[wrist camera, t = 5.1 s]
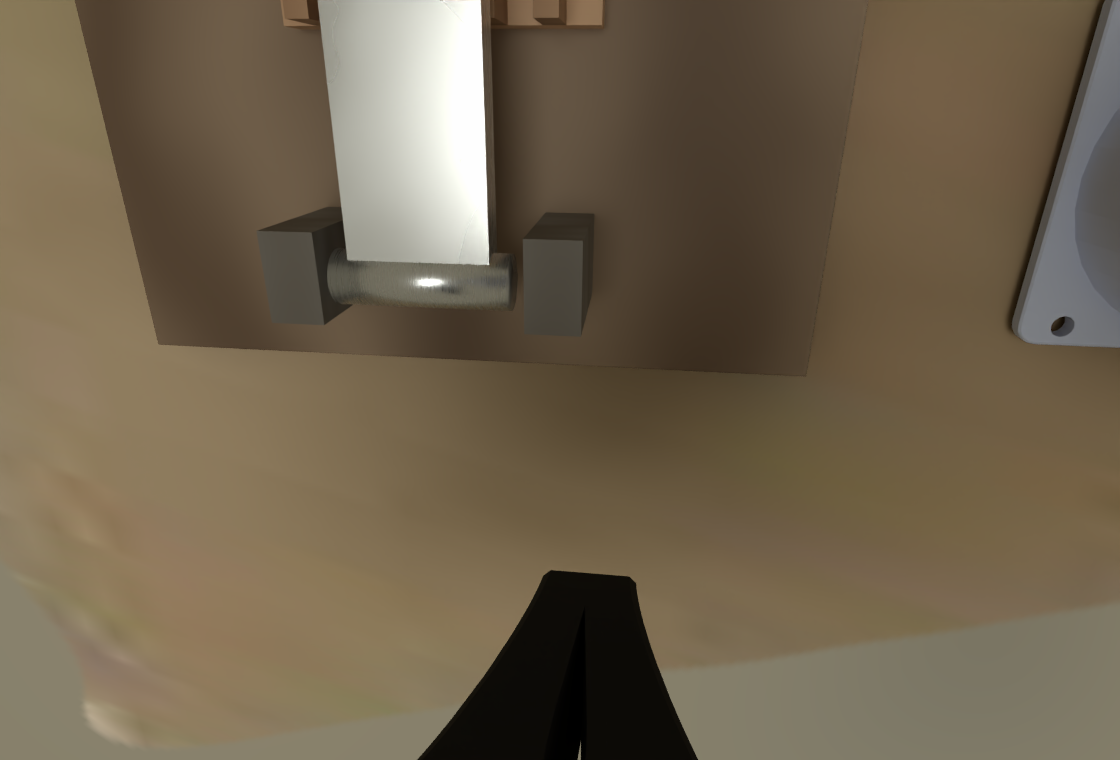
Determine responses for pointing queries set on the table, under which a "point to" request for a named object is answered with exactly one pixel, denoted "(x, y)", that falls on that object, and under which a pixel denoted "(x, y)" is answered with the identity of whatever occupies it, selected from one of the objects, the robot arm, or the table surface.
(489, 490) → the table surface
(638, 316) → the strap board
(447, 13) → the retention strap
